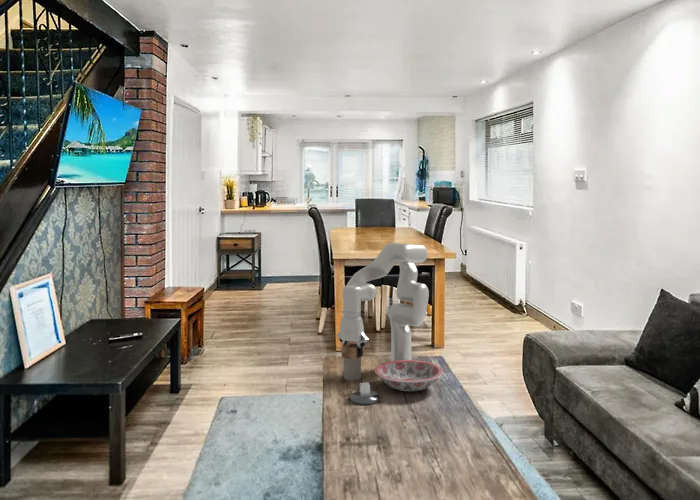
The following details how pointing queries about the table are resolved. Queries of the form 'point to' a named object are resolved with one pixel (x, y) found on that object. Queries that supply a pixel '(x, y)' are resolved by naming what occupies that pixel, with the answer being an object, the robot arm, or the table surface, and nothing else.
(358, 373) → the thermos bottle
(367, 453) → the table surface
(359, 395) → the post base
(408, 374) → the ceramic bowl
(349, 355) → the hollow wooden square
